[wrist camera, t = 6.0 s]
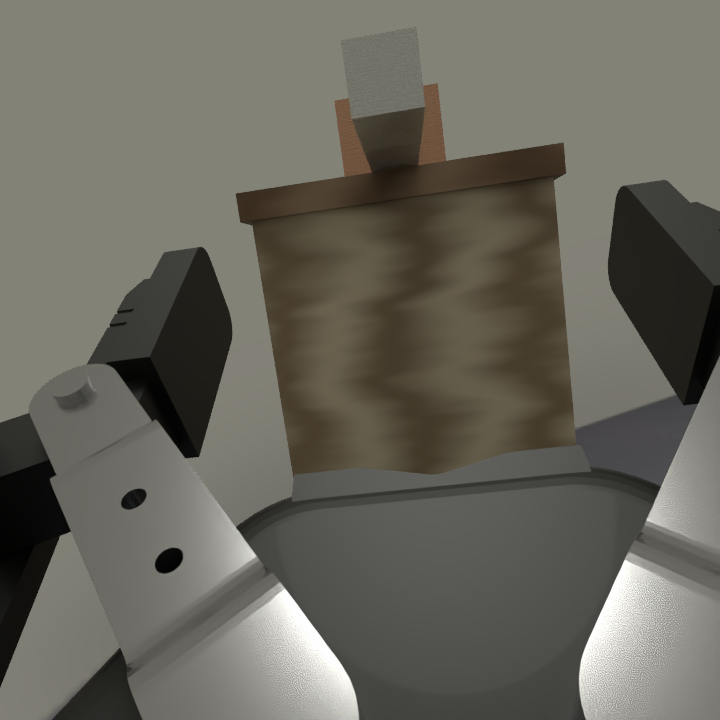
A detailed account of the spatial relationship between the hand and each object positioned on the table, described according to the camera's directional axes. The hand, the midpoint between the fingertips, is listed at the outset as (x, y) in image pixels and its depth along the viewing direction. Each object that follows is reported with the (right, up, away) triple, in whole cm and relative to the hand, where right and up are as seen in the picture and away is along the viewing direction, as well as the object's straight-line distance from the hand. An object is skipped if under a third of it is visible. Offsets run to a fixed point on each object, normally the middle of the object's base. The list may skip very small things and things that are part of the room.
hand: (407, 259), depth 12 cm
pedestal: (+6, -22, +31) cm, 38 cm away
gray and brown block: (+1, +8, +18) cm, 20 cm away
